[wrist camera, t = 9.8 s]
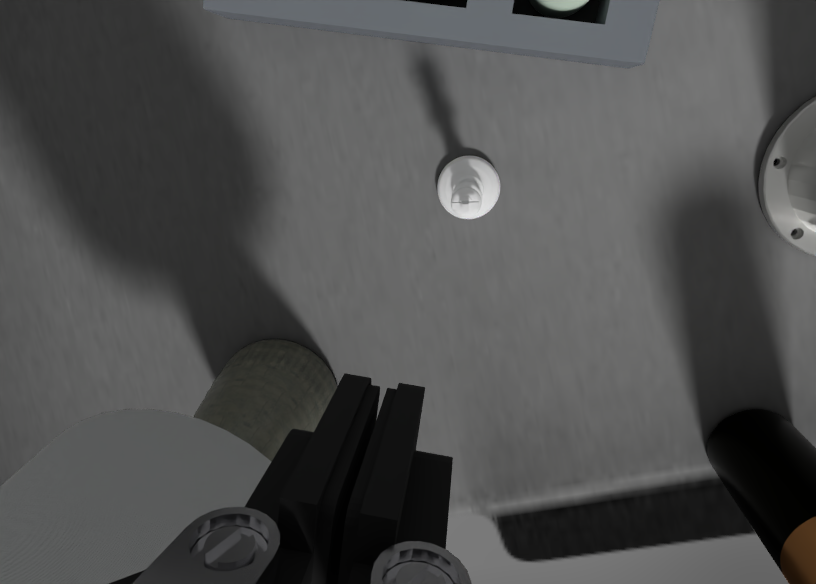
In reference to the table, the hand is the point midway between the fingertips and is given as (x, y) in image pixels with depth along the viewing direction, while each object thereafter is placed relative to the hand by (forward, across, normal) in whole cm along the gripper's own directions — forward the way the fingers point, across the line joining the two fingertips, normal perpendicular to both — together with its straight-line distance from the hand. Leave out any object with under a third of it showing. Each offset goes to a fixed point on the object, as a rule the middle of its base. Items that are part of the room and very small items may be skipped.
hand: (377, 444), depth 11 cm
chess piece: (+35, -1, -1) cm, 35 cm away
